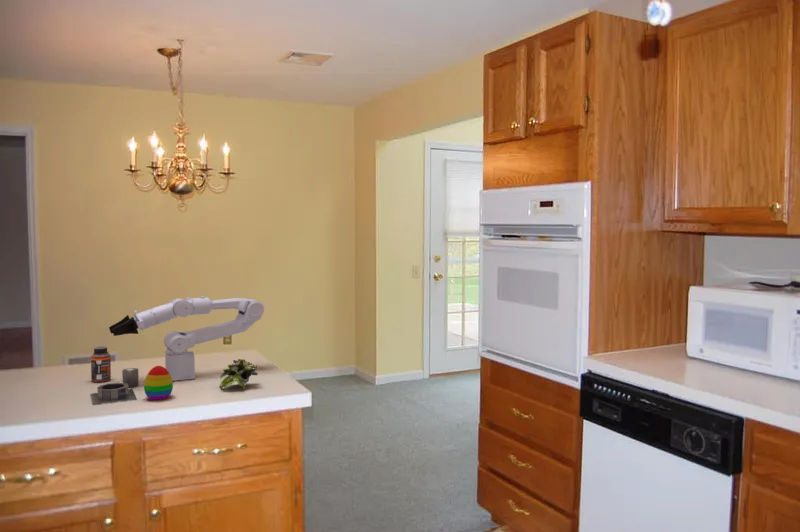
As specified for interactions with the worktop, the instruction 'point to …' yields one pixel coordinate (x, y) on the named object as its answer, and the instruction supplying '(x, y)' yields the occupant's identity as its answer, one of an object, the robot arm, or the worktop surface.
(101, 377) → the supplement bottle
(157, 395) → the decorative egg
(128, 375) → the cap
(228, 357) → the worktop surface
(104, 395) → the gray square plate
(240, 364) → the leafy green plant
